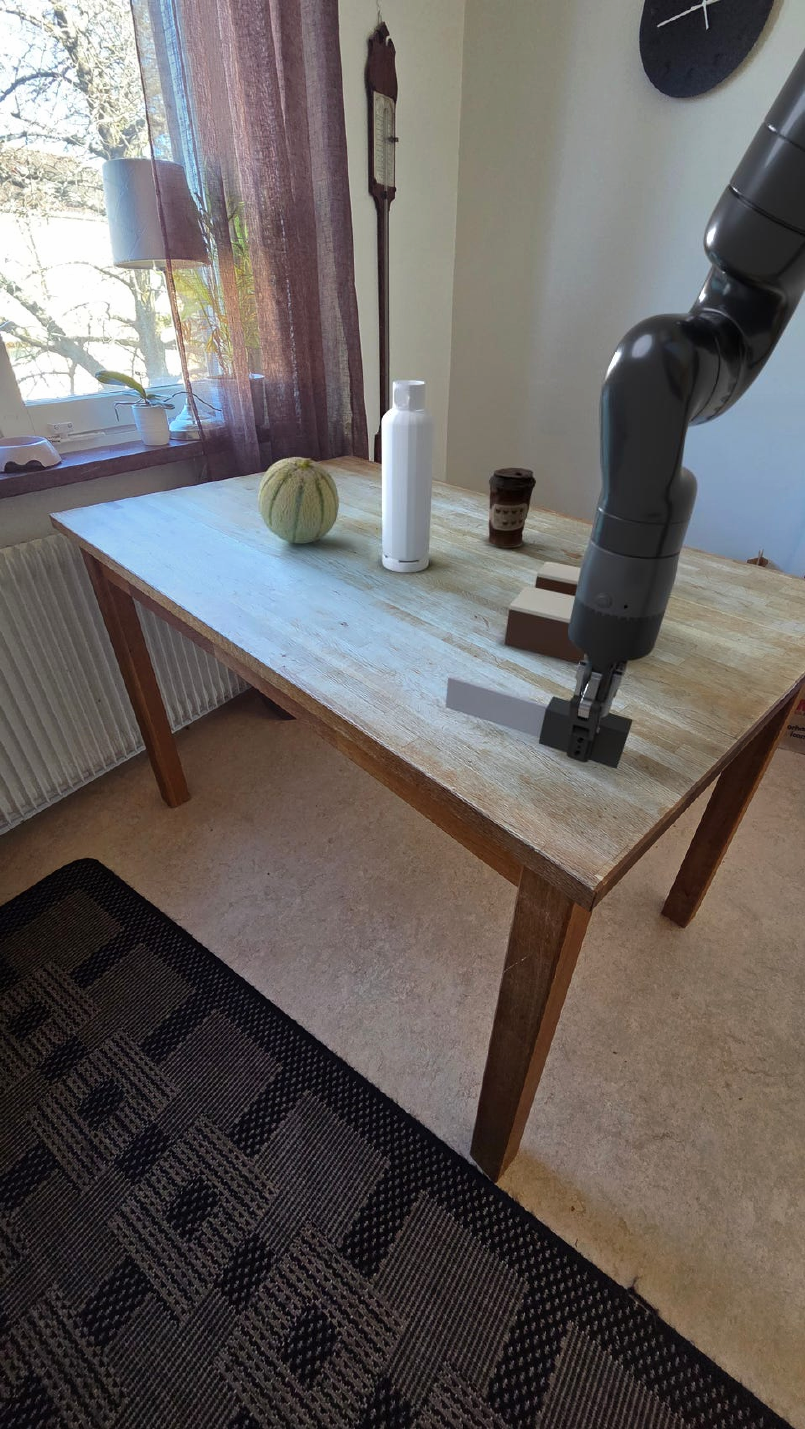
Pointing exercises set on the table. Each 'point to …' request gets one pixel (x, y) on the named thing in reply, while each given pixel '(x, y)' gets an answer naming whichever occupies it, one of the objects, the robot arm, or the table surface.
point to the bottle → (407, 478)
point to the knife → (537, 718)
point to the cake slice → (558, 578)
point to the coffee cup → (509, 505)
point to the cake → (542, 624)
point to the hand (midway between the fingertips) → (581, 748)
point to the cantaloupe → (298, 500)
